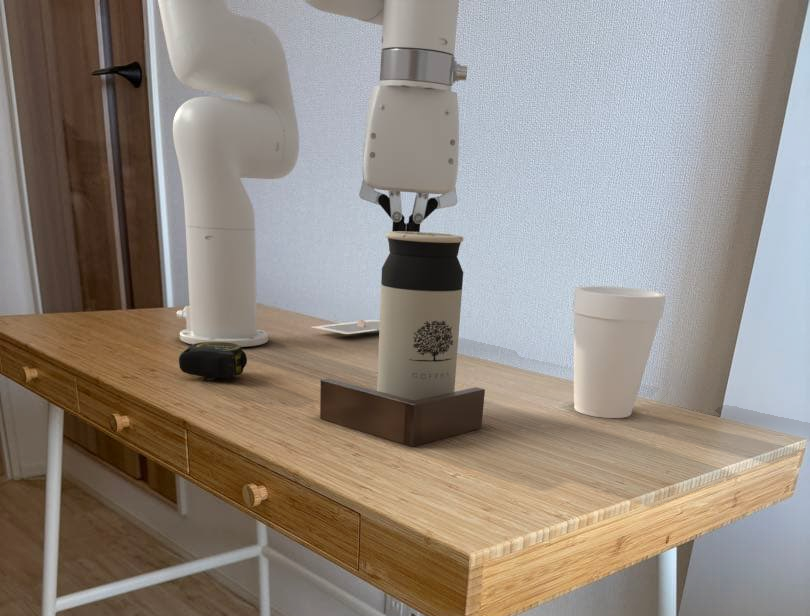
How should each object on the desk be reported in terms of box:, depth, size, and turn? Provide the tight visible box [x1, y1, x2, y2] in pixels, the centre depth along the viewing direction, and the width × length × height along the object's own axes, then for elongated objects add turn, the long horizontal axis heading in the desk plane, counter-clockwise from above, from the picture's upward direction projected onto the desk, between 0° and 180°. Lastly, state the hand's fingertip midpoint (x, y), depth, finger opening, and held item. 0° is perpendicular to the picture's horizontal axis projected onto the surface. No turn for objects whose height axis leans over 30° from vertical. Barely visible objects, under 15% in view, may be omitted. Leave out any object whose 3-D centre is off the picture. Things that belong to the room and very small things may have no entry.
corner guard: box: [319, 377, 486, 448], centre depth 83 cm, size 13×11×4 cm
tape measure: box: [178, 342, 248, 381], centre depth 99 cm, size 7×7×4 cm
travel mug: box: [376, 230, 464, 400], centre depth 83 cm, size 8×8×18 cm
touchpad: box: [311, 319, 380, 335], centre depth 134 cm, size 8×15×2 cm, turn 140°
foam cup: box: [571, 285, 667, 419], centre depth 91 cm, size 10×9×13 cm
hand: (403, 259), depth 93 cm, fingers closed
